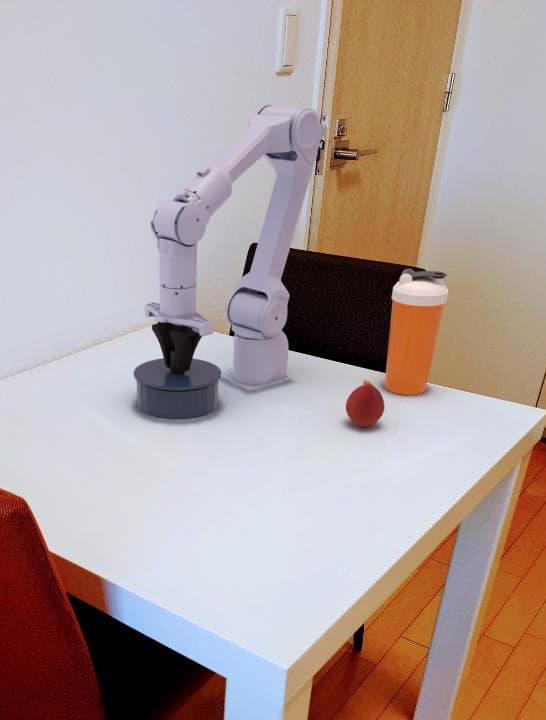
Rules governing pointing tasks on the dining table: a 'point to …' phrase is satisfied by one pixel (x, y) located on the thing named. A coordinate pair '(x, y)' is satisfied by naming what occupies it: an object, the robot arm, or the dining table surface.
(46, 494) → the dining table surface
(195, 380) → the lid
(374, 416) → the onion
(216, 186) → the robot arm
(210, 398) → the pot
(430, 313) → the shaker bottle
